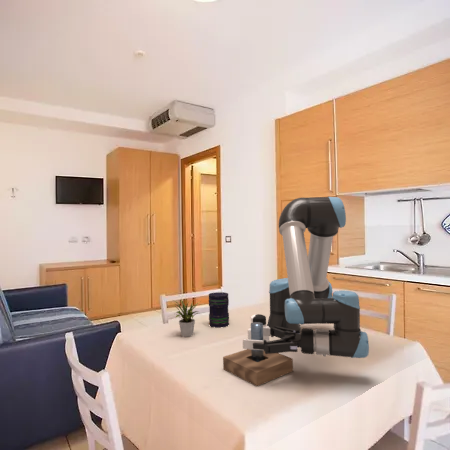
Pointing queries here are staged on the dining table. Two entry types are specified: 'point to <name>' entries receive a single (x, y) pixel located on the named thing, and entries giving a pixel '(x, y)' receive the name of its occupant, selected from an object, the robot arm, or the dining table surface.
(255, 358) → the pin
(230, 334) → the dining table surface
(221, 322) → the storage jar
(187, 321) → the house plant
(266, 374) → the socket block
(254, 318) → the medicine bottle
